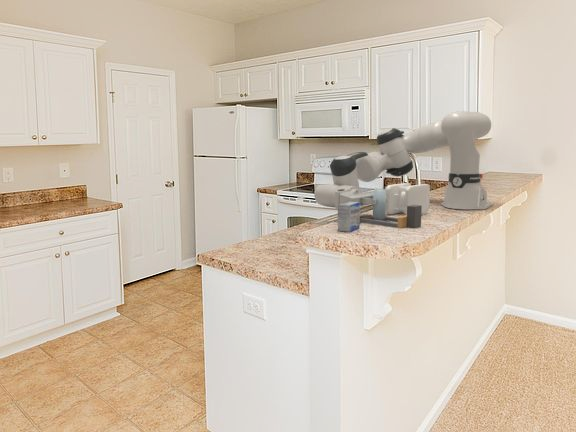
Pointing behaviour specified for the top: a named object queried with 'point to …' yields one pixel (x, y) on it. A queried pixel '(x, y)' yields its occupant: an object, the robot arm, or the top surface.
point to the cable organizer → (407, 197)
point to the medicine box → (348, 216)
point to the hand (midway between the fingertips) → (381, 200)
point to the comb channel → (401, 219)
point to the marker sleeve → (379, 203)
